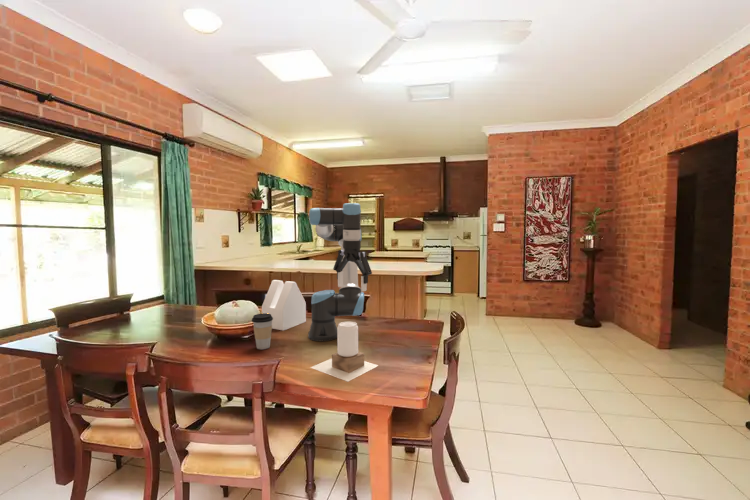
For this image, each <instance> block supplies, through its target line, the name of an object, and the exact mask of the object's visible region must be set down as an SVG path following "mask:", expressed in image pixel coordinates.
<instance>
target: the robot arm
mask: <svg viewBox="0 0 750 500" xmlns="http://www.w3.org/2000/svg"><path fill="white" fill-rule="evenodd" d="M308 212H309V213H308V219H309V220H308V221H309V224H310V225H311V226H315V227H314V229H315V232H316V235H317V236H318V237H320V238H321V239H322V240H326V241H328V242H329V241H330V242H337V244H338V246H339V247H340V250H339V249H338V252H337V258H336V260H335V263H334V265H333V268H332V270H333V271H335V272H336V279H337V287H338V288H339V289H338V292H336V291H335V290H334V289H324V290H320V291H316V292H314V293H313V294H312V295H311V301H310V302H311V303H310V304H311V324H310V326H309V327H310V328H309V331H308V334H307V336H308V339H309V340H311V341H315V342H328V341H329V342H330V341H333V340H336V339H337V327H338V325H337V324H336V319H335V317H351V316H352V317H355V316H360V315H362V314H363V311H364V302H365V292H366V291H367V290H368V288H367V286H368V283H369V276H370V275H372V274H373V272H372V268H371V266H370V263H369V261H368V258H367V253H366V251H361V247H362V245H361V241H362V238H363V236H362V229H361V221H362V220H361V218H362V217H361V215H362V214H361V213H362V210H361V204H360V203H355V202H353V203H352V202H348V203H347V202H346V203H343V204H342V208H340V207H339V208H336V207H335V208H334V207H332V208H331V207H325V208H324V207H313V208H310V209H309V211H308ZM358 269H359V271H360V273H361V274H362V275H361V276H360V278H361V279H360V283H361V284H360V286H359V275H358V274H359V273H358Z"/></svg>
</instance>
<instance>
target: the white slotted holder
mask: <svg viewBox="0 0 750 500" xmlns="http://www.w3.org/2000/svg"><path fill="white" fill-rule="evenodd" d="M270 283H271V284H270V285H269V288H268V290H267V293H266V295H265V297H264V300H263V303H262V305H261V314H262V313H269V314H271V316H272V317H273V320H272V330H280V331H286V330H288V329H291V328H293V327H296V326H298V325H301V324H304V323H306V322H307V304H306V303H307V302H306V301H305V298H304V295H302V292H301V290H300V288H299V286H298V284H297V282H296V281H289V280H288V281H287V280H285V282H284V281H283V280H279V279H273V280H271V282H270Z"/></svg>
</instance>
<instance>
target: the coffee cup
mask: <svg viewBox="0 0 750 500" xmlns="http://www.w3.org/2000/svg"><path fill="white" fill-rule="evenodd" d="M272 320H273V317H272V316H271V314H267V313H263V314H262V313H257V314H254V315H253V317H252V318H251V322H252V325H253V335H254V339H255V345H256V346H255V347H256V349H257V350H267V349H270V348H271V347H270V346H271V338H272V330H273V329H272Z"/></svg>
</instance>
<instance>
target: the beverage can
mask: <svg viewBox="0 0 750 500" xmlns="http://www.w3.org/2000/svg"><path fill="white" fill-rule="evenodd" d="M336 339H337V341H336V342H337V343H336V344H337V347H336V348H337V352H338V354H339V355H341V356H343V357H351V356H354V355H356V354H357V353H358V352H359V325H358V323H357V322H356V321H342V322H338V325H337V338H336Z"/></svg>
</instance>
